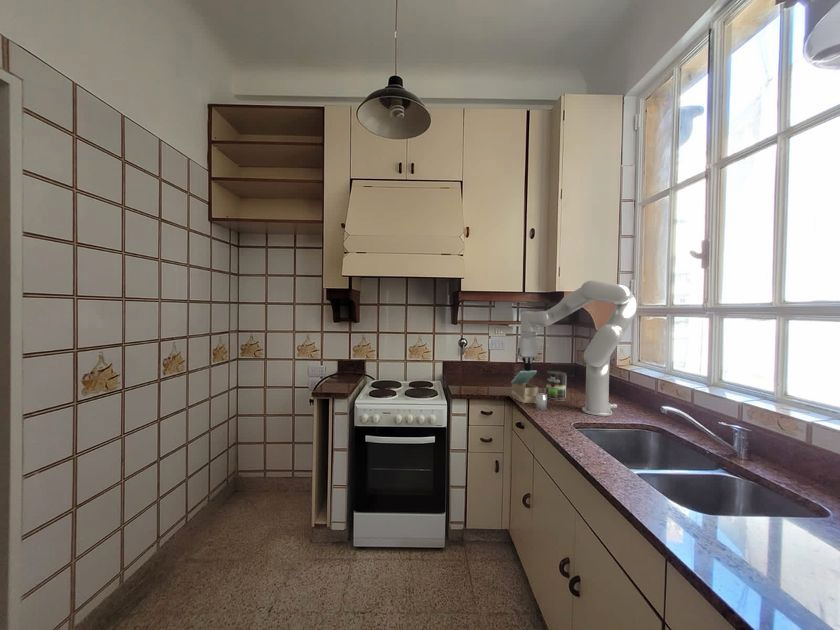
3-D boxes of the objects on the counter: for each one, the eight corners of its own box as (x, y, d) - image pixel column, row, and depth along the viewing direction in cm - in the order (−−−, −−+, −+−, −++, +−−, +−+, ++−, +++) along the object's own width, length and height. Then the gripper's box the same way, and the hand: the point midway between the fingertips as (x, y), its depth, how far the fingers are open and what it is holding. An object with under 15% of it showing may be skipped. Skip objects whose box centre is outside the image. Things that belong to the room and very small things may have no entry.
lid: (526, 382, 187) (526, 381, 187) (537, 372, 177) (536, 370, 178) (511, 383, 185) (510, 381, 185) (521, 372, 175) (520, 370, 176)
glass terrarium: (562, 401, 179) (562, 374, 179) (542, 398, 186) (543, 372, 186) (569, 398, 187) (569, 372, 187) (550, 395, 194) (550, 370, 194)
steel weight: (543, 406, 168) (543, 392, 168) (549, 409, 163) (549, 395, 163) (533, 407, 167) (534, 393, 167) (539, 410, 162) (539, 395, 162)
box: (526, 397, 187) (526, 383, 187) (538, 403, 175) (539, 387, 175) (511, 398, 185) (511, 383, 185) (523, 404, 173) (523, 388, 173)
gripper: (537, 334, 183) (536, 368, 183) (511, 334, 179) (510, 369, 179) (545, 335, 175) (544, 371, 175) (518, 335, 172) (517, 371, 172)
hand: (527, 370), depth 177 cm, fingers closed
